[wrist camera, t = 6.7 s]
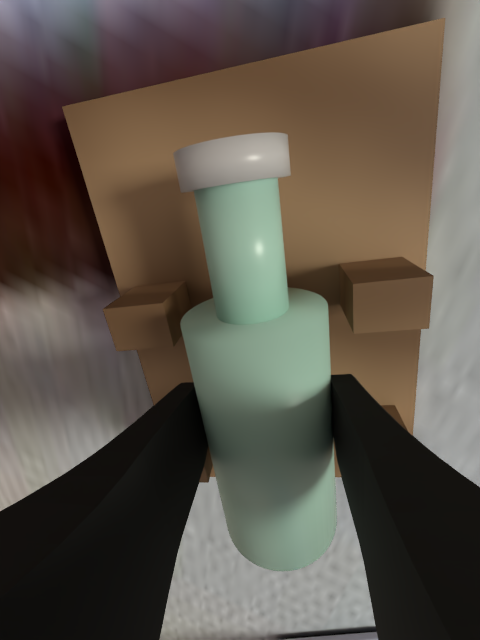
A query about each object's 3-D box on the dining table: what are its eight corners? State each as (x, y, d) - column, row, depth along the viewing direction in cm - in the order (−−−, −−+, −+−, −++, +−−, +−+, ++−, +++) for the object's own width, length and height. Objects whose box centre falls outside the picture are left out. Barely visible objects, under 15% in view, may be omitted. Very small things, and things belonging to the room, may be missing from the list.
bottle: (312, 457, 14) (358, 553, 10) (221, 478, 13) (234, 586, 10) (289, 147, 9) (356, 111, 5) (151, 167, 9) (124, 143, 5)
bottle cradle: (401, 459, 15) (432, 532, 12) (181, 460, 17) (158, 523, 14) (428, 35, 9) (506, -46, 6) (80, 113, 11) (-2, 84, 8)
